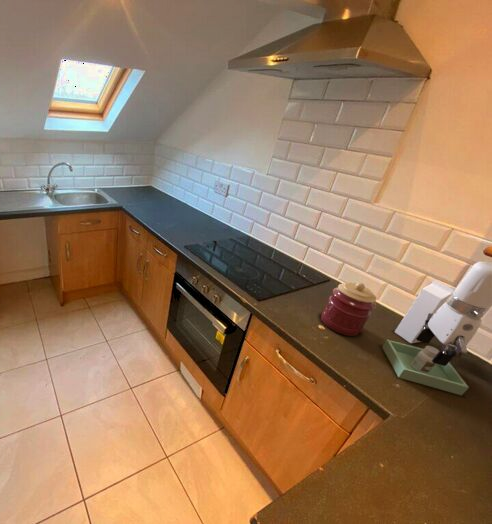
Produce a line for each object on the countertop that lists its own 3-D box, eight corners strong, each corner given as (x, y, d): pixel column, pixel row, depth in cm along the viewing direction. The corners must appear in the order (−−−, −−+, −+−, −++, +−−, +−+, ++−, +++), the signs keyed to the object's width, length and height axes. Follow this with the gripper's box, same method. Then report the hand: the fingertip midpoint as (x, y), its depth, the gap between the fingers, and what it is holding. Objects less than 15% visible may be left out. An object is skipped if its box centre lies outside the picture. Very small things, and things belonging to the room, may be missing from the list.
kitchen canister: (345, 340, 101) (369, 297, 92) (312, 316, 111) (331, 276, 103) (368, 332, 106) (393, 291, 98) (335, 310, 116) (355, 271, 108)
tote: (436, 361, 96) (442, 354, 94) (461, 395, 84) (469, 387, 83) (381, 346, 100) (386, 339, 98) (398, 377, 88) (404, 369, 87)
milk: (410, 343, 103) (448, 290, 92) (393, 331, 108) (427, 280, 97) (423, 341, 104) (461, 289, 94) (405, 330, 109) (440, 279, 99)
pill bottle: (423, 375, 89) (438, 356, 86) (407, 364, 93) (420, 346, 89) (431, 372, 91) (446, 353, 87) (415, 361, 94) (428, 343, 91)
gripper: (506, 329, 72) (461, 378, 81) (463, 293, 87) (429, 337, 95) (469, 320, 74) (429, 368, 82) (433, 286, 89) (403, 330, 97)
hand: (429, 351), depth 89 cm, fingers open, 9 cm apart
